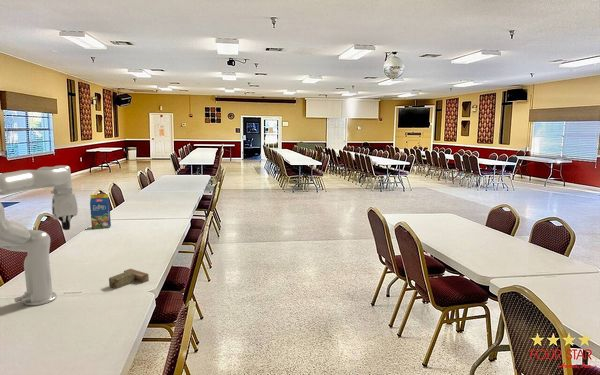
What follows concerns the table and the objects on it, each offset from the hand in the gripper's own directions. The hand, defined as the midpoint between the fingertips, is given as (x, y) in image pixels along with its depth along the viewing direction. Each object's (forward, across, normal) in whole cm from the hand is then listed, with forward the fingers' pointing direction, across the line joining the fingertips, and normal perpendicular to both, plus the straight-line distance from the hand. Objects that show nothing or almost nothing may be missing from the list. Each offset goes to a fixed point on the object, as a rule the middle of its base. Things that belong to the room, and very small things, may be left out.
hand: (66, 229), depth 201 cm
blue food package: (+27, +73, +90) cm, 119 cm away
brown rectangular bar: (+27, +21, -22) cm, 41 cm away
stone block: (+28, +13, -22) cm, 38 cm away
